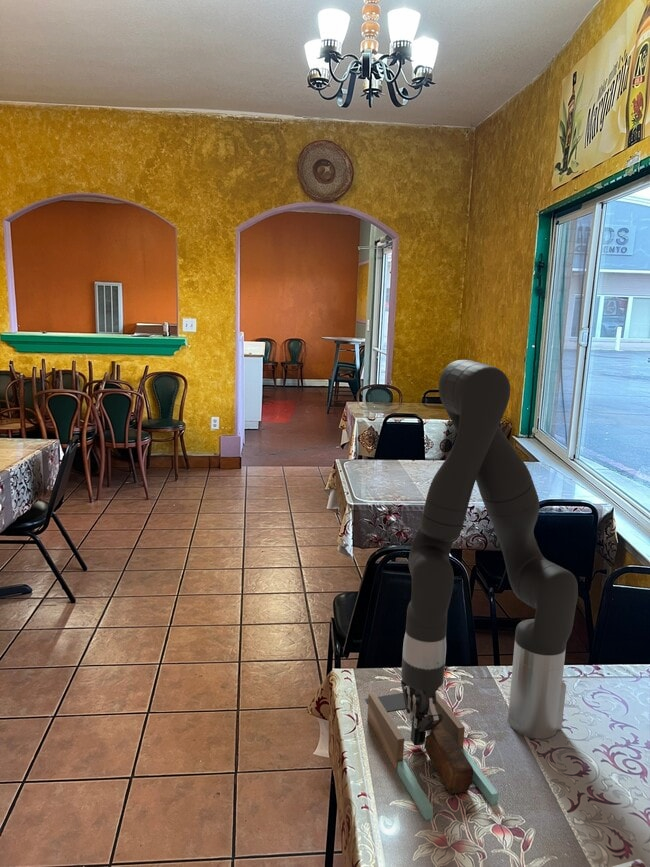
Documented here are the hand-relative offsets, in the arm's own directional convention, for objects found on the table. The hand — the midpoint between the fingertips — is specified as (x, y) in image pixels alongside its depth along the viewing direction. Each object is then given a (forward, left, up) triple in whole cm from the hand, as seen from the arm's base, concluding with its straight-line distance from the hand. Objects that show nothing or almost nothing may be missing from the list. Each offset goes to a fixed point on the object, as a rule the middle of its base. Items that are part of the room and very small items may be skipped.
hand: (417, 742), depth 117 cm
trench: (0, -3, -1) cm, 3 cm away
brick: (0, +5, -2) cm, 6 cm away
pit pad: (-1, -14, -1) cm, 14 cm away
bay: (0, +10, -1) cm, 10 cm away
